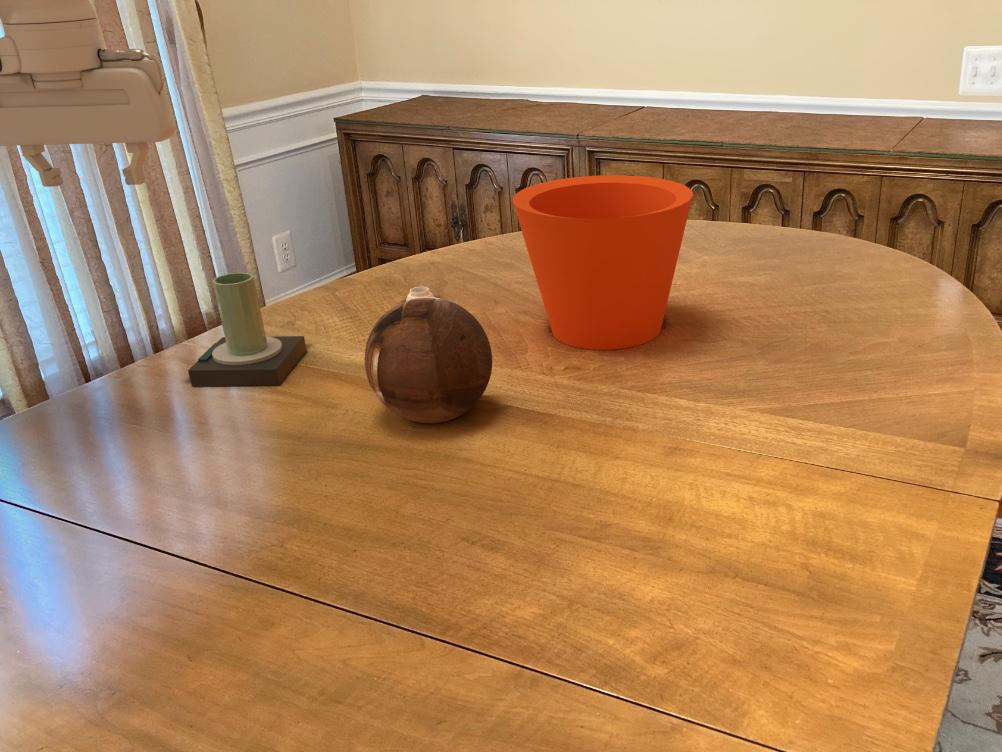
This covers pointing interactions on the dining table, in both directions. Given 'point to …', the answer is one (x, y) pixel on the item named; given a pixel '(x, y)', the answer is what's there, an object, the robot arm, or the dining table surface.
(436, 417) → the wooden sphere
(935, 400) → the dining table surface
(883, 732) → the dining table surface
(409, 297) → the lidless jar
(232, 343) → the cup
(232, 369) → the scale
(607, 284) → the flowerpot
